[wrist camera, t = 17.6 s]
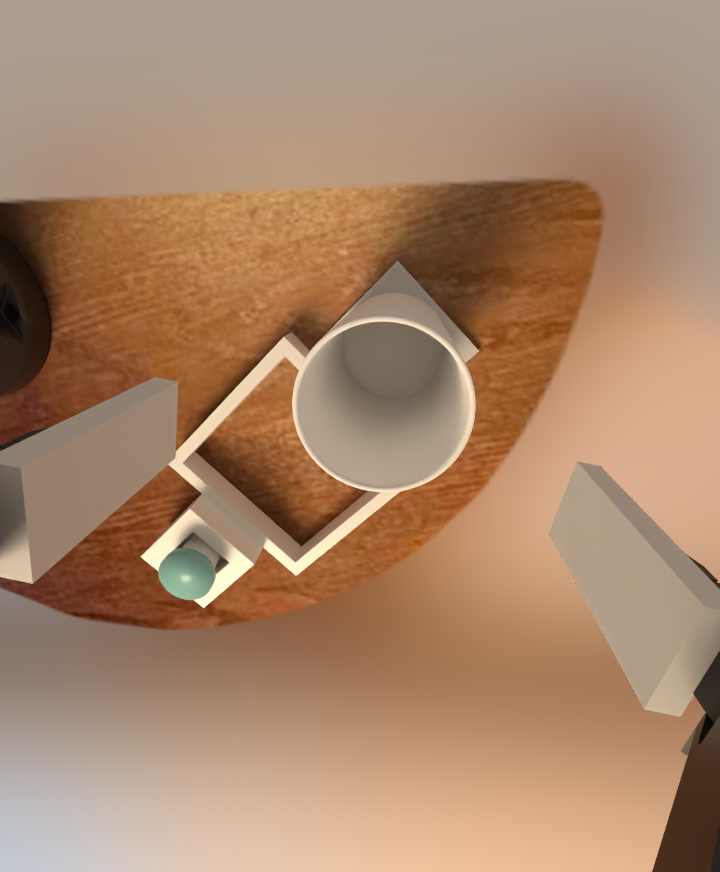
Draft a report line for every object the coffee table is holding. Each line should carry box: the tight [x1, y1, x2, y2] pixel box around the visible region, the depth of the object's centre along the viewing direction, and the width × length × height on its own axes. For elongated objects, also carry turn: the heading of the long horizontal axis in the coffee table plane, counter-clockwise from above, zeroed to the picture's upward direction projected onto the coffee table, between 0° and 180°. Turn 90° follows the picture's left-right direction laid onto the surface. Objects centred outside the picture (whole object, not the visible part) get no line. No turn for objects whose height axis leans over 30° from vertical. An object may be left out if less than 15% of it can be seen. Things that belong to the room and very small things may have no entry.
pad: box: [323, 261, 479, 363], centre depth 36 cm, size 9×9×1 cm
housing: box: [141, 332, 400, 608], centre depth 39 cm, size 15×22×5 cm
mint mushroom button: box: [158, 533, 222, 600], centre depth 39 cm, size 4×4×5 cm
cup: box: [292, 293, 475, 492], centre depth 28 cm, size 8×8×16 cm
